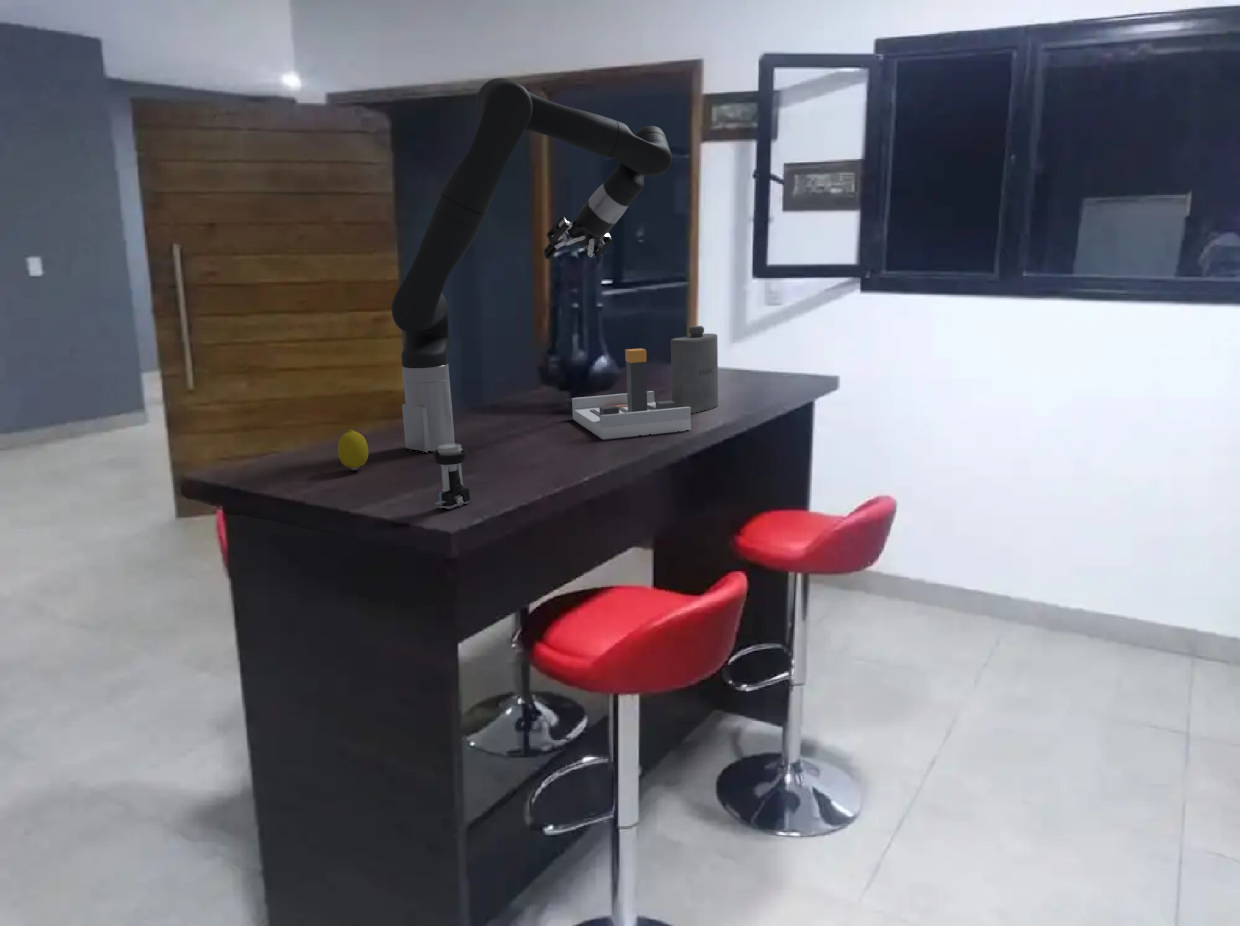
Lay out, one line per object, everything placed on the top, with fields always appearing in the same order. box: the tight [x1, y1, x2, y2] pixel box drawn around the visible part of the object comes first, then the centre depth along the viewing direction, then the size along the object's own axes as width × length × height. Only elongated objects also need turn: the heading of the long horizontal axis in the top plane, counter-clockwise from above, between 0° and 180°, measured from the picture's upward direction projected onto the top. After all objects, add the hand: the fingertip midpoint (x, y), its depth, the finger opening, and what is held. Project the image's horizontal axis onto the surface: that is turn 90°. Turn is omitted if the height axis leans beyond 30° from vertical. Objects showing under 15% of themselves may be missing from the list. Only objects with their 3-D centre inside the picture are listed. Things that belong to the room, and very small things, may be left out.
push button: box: [432, 443, 471, 506], centre depth 145 cm, size 7×5×10 cm
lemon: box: [337, 429, 369, 469], centre depth 171 cm, size 6×6×8 cm
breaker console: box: [571, 390, 692, 440], centre depth 204 cm, size 24×20×6 cm
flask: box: [670, 325, 719, 414], centre depth 217 cm, size 15×6×20 cm, turn 138°
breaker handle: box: [624, 348, 648, 412], centre depth 197 cm, size 3×4×14 cm
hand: (561, 260), depth 202 cm, fingers open, 8 cm apart
